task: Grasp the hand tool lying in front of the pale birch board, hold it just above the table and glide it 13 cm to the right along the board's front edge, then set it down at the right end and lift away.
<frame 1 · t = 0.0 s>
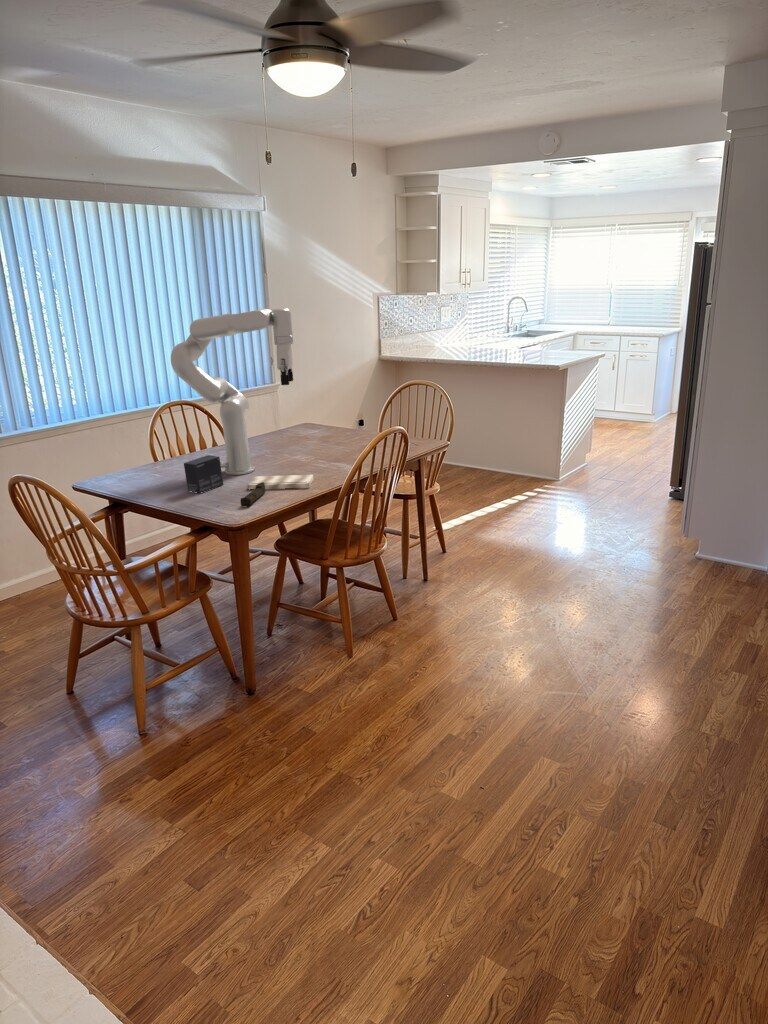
hand: (287, 383, 290), 37 cm above the table, tool pointing down, fingers open, 9 cm apart
birch board: (281, 484, 281), on the table
hand tool: (254, 500, 265), on the table
small box: (205, 489, 281), on the table
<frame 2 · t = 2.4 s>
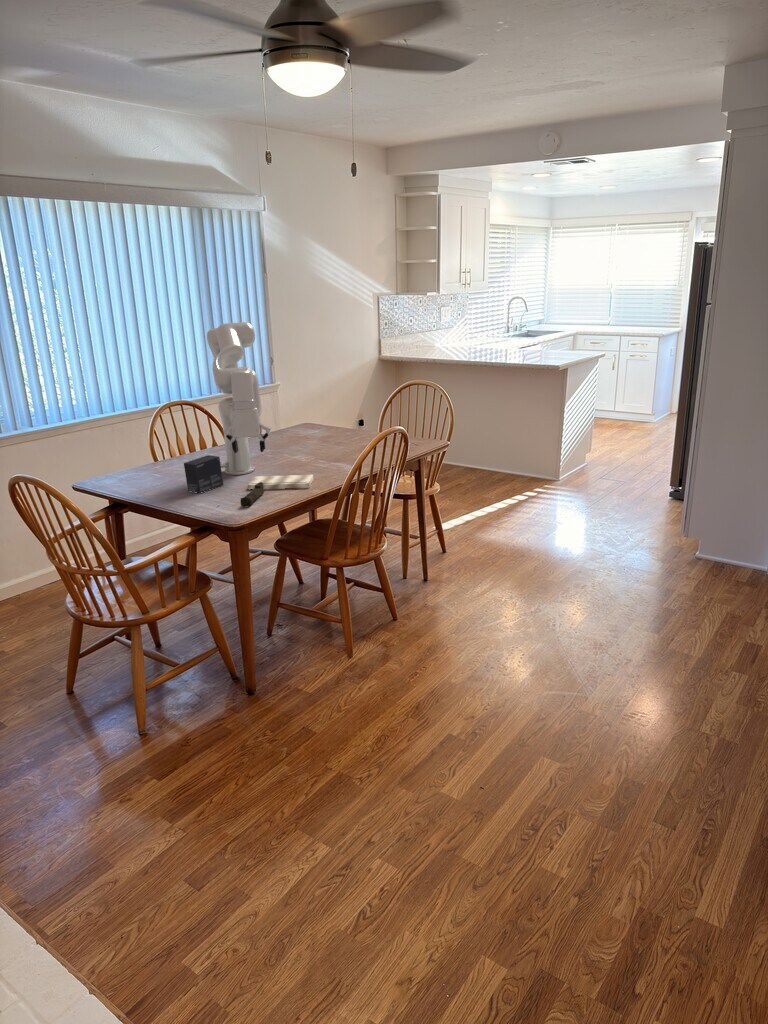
hand: (249, 451, 259), 18 cm above the table, tool pointing down, fingers open, 9 cm apart
nothing on the table moved.
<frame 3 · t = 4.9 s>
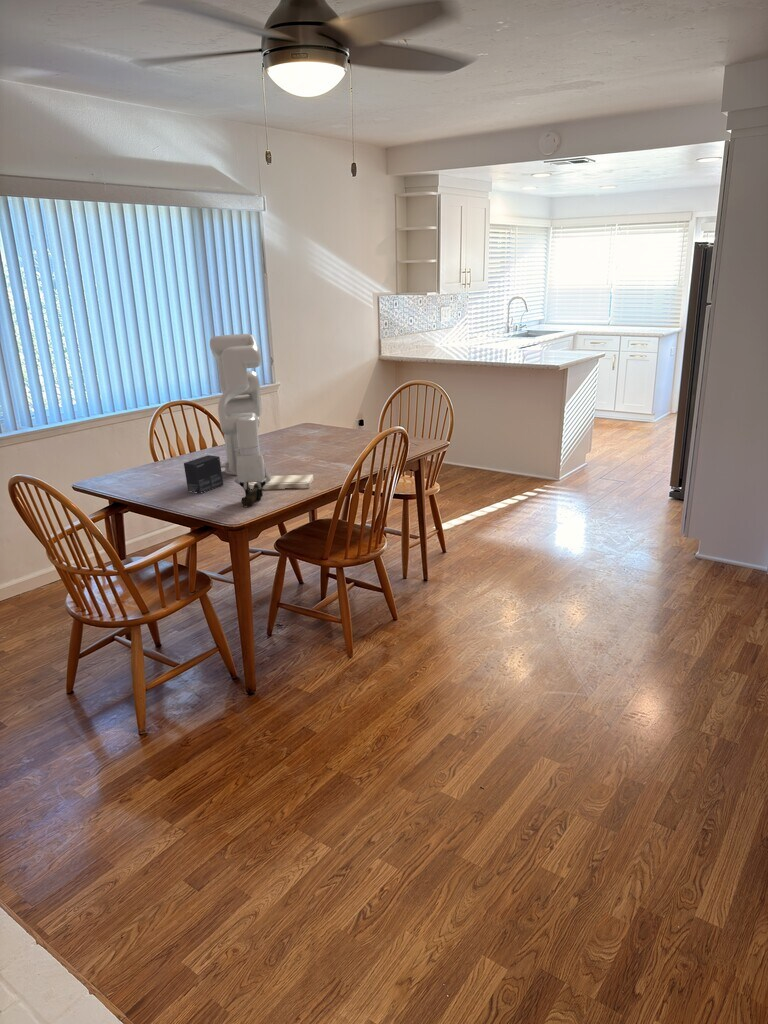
hand: (254, 498, 264), 0 cm above the table, tool pointing down, fingers closed on hand tool, 3 cm apart
hand tool: (253, 499, 265), on the table, touching gripper
everything else where it was.
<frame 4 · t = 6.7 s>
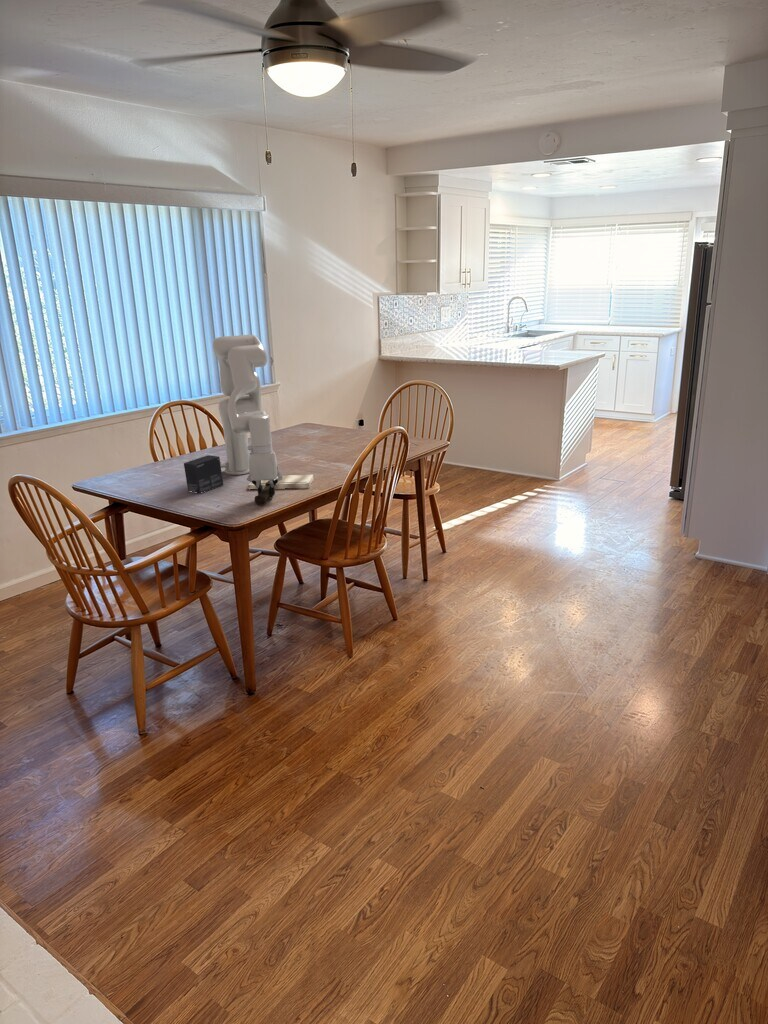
hand: (266, 496, 264), 1 cm above the table, tool pointing down, fingers closed on hand tool, 3 cm apart
hand tool: (265, 498, 264), on the table, touching gripper
everything else where it was.
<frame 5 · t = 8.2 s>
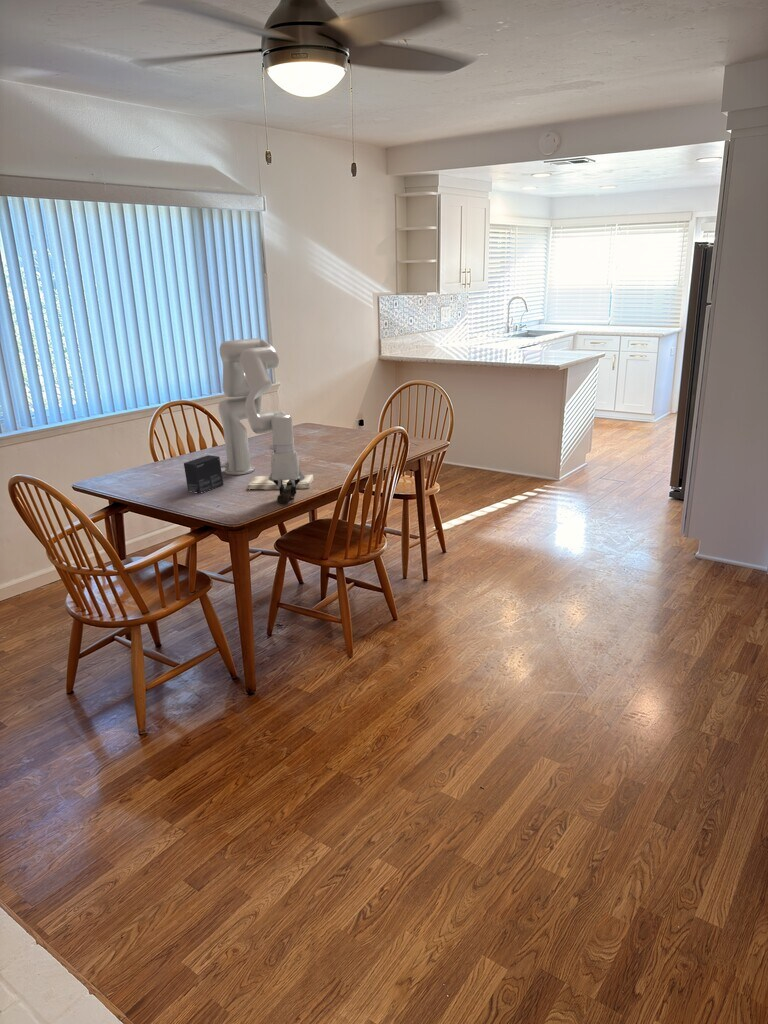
hand: (288, 495, 264), 1 cm above the table, tool pointing down, fingers closed on hand tool, 3 cm apart
hand tool: (287, 497, 264), on the table, touching gripper
everything else where it was.
when the fingers open (0 cm above the table, at t = 9.0 s): hand tool stays where it is, on the table.
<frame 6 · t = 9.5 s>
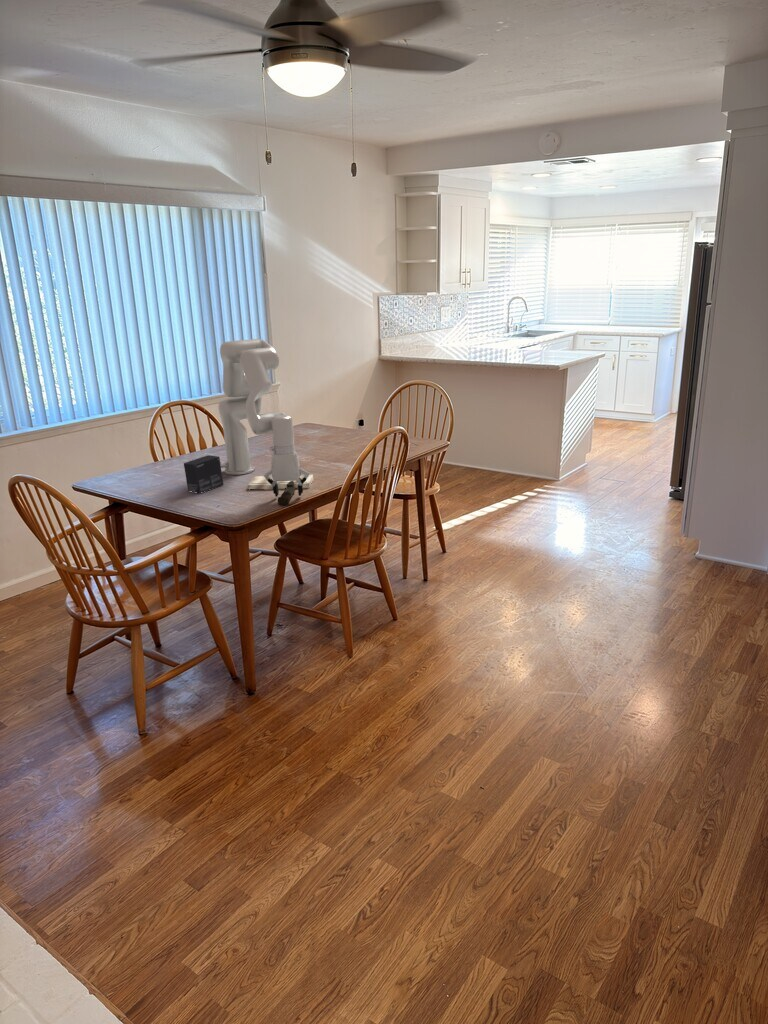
hand: (288, 494, 263), 1 cm above the table, tool pointing down, fingers open, 8 cm apart
hand tool: (287, 499, 264), on the table
everything else where it was.
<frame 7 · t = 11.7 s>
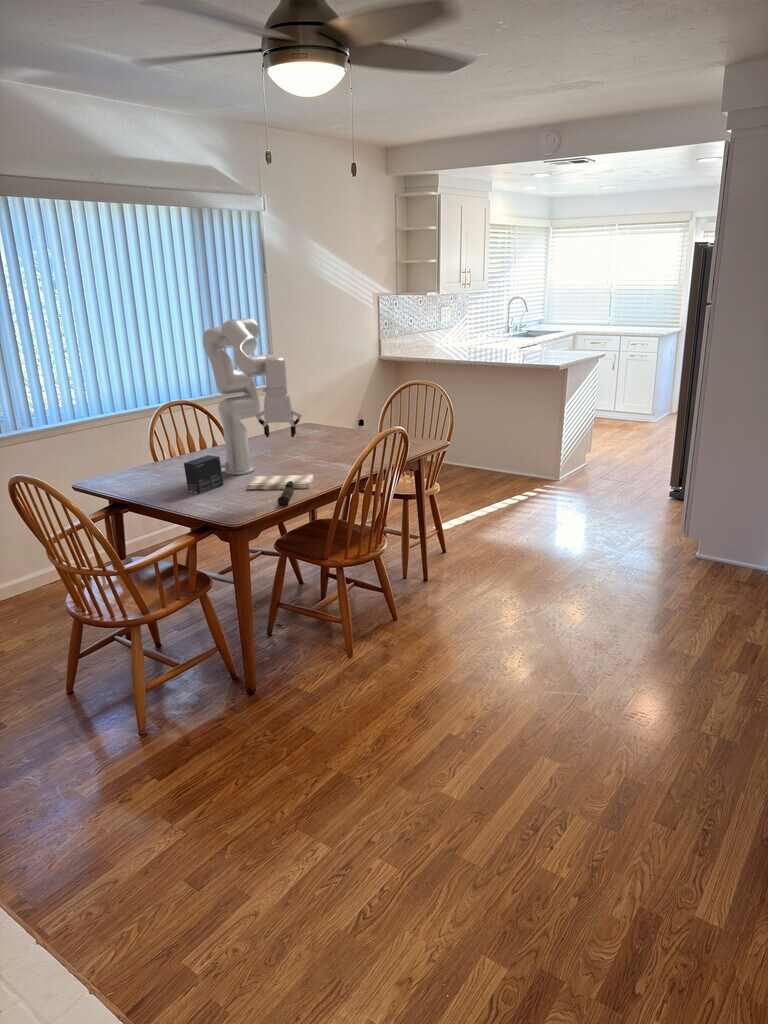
hand: (280, 436, 268), 21 cm above the table, tool pointing down, fingers open, 9 cm apart
nothing on the table moved.
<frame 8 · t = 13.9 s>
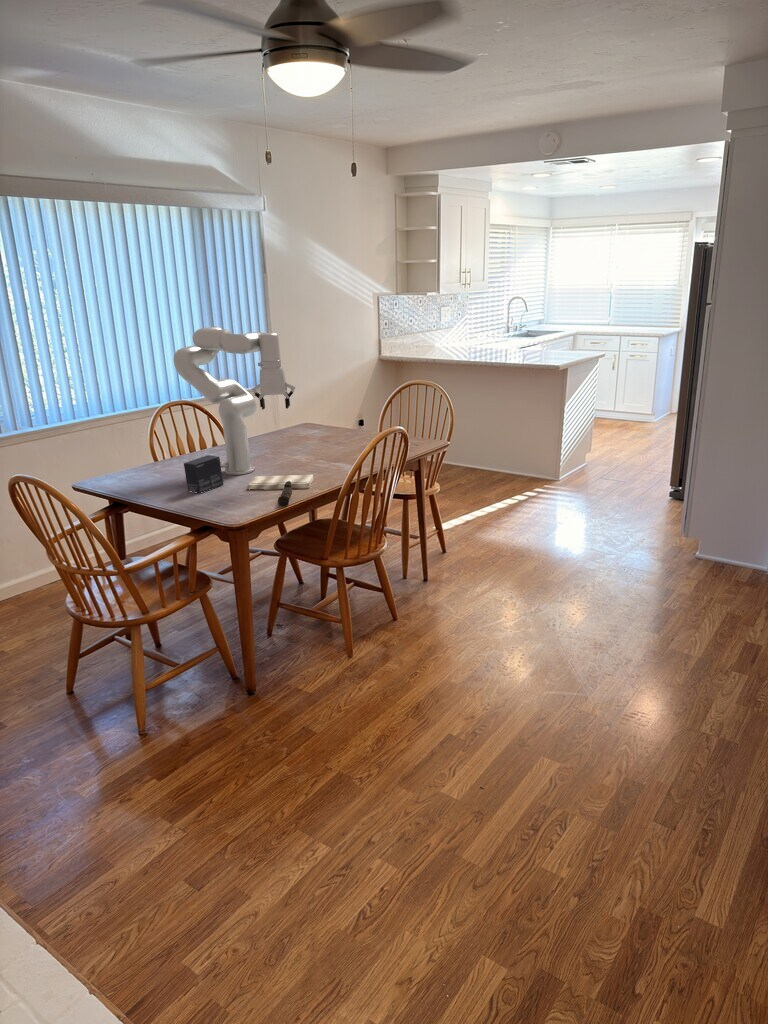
hand: (275, 408, 283), 28 cm above the table, tool pointing down, fingers open, 9 cm apart
nothing on the table moved.
at the end: hand tool inside the target area (1.8 cm from its centre), on the table; hand tool moved 11.8 cm from its start; the gripper is holding nothing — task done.
